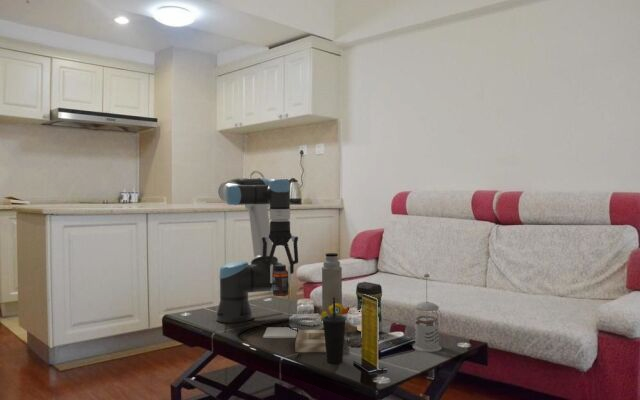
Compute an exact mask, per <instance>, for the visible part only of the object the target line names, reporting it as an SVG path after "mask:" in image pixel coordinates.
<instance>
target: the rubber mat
mask: <svg viewBox="0 0 640 400" xmlns="http://www.w3.org/2000/svg"><path fill="white" fill-rule="evenodd" d="M289 327H290V326H289ZM289 327H288V326H286V327H285V326H283V327H278V326H277V327H276V326H275V327H272V326H271V327H268V326H267V328H266V330H265V332H264V333H263V336H262V338H263V339H296V338H297V334H298V332H297V331H295V330H292V329H290V328H289Z"/></svg>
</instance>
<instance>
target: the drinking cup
mask: <svg viewBox="0 0 640 400" xmlns="http://www.w3.org/2000/svg"><path fill="white" fill-rule="evenodd" d="M322 320H323V324H322V325H323V330H324V336H325V346H326V352H325V353H326V354H325V356H326V362H327V363H328V364H332V365H339V364H342V363H343V361H344V359H343V358H344V352H343V348H345V347H344V346H345V345H344V344H345V334H346V333H345V331H346V322H347V317H346V316H344V315H343V314H342V315H340V314H335V298H333V314H329V315H326V316H324V317H322Z"/></svg>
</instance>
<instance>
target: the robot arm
mask: <svg viewBox="0 0 640 400" xmlns="http://www.w3.org/2000/svg"><path fill="white" fill-rule="evenodd" d="M290 191H291V186H290V180H289V179H287V178H286V179H285V178H280V179H279V178H278V179H277V178H275V179H274V178H273V179H270V180H269V179H268V178H260V177H257V178H250V177H249V178H247V177H245V178H238V177H237V178H230V179H227V180H225V181H223V182H222V183H221V184H220V185H219V187H218V192H217V193H218V196H219V198H220V199H221V200H222V201H223V202H226V204H227V205H229V206H230V205H231V206H239V205H240V206H242V205H243V206H244V208H245V209H246V210H247V211H248V215H249V216H248V217H249V225H250V233H251V242H252V250H253V251H252V252H253V259H252V260H251V262H250V264H249V262H248V261H245V260H244V261H243V260H242V261H234V262H229V263H226V264H223V265H222V266H220V269H219V303H218V306H217V310H216V313H215V319H216V322H220V323H228V324H232V323H233V324H236V323H243V322H249V321H250V320H252V319H253V318H254V317H253V316H254V315H253V309H252V306H251V304H250V301H249V293H259V292H260V293H262V292H273V272H274V271H275V265H281V264H282V265H284V264H283V263H282V262H279V260H278V257H277V256H275V255H274V254H275V251H276V249H277V246H282V247H283V248H284V249H285V253H286V255H287V259H288V262H289V264H288V266H287V271H288V283H289V284H291V282H292V275H293V274H294V272H295V270H294V268H295V267H294V265H297V264H298V263H299V251H298V250H299V249H298V248H299V247H298V242H299V241H298V240H299V236H295V235H293V234H292V233H291V222H290V220H291V192H290ZM290 240H291V241H292V242H293V255H294V258H293V256H292V253H291V250H290V248H289V247H290V246H289V244H288V243H289V241H290Z"/></svg>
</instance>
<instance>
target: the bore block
mask: <svg viewBox="0 0 640 400" xmlns="http://www.w3.org/2000/svg"><path fill="white" fill-rule="evenodd" d="M294 343H295V344H294V345H295V347H294V349H295V353H326V346H325V336H324V329H298V332H297V336H296V338H295V342H294ZM344 348H345V347H344ZM344 348H343V353H344V350H345V349H344Z"/></svg>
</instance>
